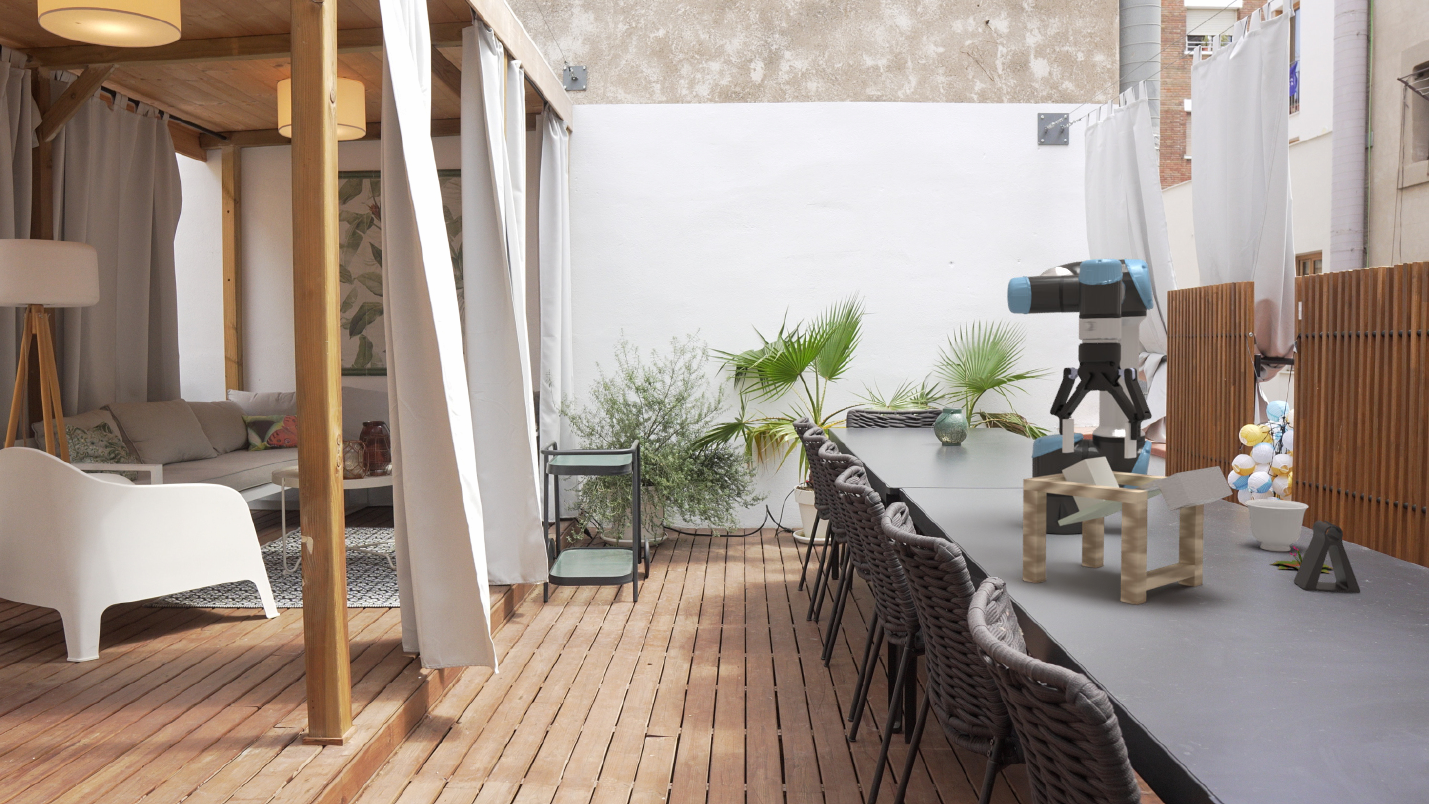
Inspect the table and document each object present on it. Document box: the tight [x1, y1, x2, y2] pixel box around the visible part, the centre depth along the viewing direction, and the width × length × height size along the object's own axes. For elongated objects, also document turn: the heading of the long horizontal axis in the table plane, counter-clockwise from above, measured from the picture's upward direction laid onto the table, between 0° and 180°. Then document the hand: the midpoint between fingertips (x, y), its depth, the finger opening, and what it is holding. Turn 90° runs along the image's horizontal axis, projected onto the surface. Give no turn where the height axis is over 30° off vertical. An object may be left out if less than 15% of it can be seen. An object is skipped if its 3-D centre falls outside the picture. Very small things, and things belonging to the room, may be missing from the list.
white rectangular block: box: [1062, 457, 1119, 511], centre depth 187 cm, size 6×7×9 cm
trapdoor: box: [1058, 465, 1233, 526], centre depth 179 cm, size 25×16×6 cm, turn 37°
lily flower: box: [1269, 545, 1333, 574], centre depth 195 cm, size 12×12×5 cm
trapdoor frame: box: [1022, 471, 1205, 606], centre depth 184 cm, size 23×23×20 cm
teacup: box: [1244, 498, 1309, 553], centre depth 214 cm, size 12×15×10 cm
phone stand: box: [1293, 519, 1361, 594], centre depth 178 cm, size 9×6×12 cm, turn 76°
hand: (1098, 455), depth 185 cm, fingers open, 12 cm apart
